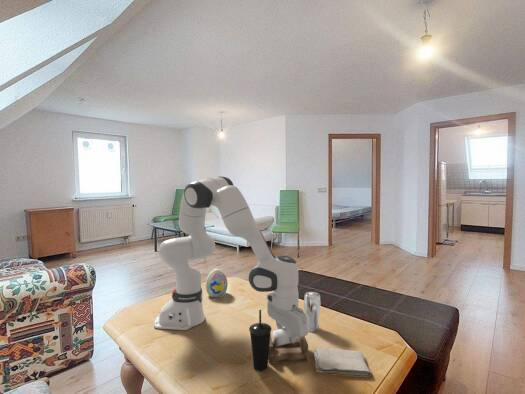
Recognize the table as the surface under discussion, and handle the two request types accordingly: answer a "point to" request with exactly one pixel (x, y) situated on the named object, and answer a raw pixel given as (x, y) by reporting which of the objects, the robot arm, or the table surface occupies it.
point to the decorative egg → (216, 283)
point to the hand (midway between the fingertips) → (286, 337)
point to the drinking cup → (260, 344)
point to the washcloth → (341, 362)
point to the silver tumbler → (312, 310)
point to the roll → (282, 337)
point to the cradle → (288, 351)
